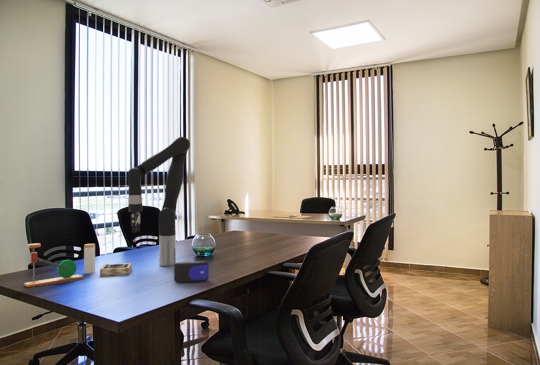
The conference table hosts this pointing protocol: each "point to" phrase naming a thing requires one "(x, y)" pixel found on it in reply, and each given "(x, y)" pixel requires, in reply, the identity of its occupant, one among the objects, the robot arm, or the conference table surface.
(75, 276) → the crank mechanism
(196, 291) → the conference table surface
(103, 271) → the box
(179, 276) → the portable speaker
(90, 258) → the white orange-topped block
